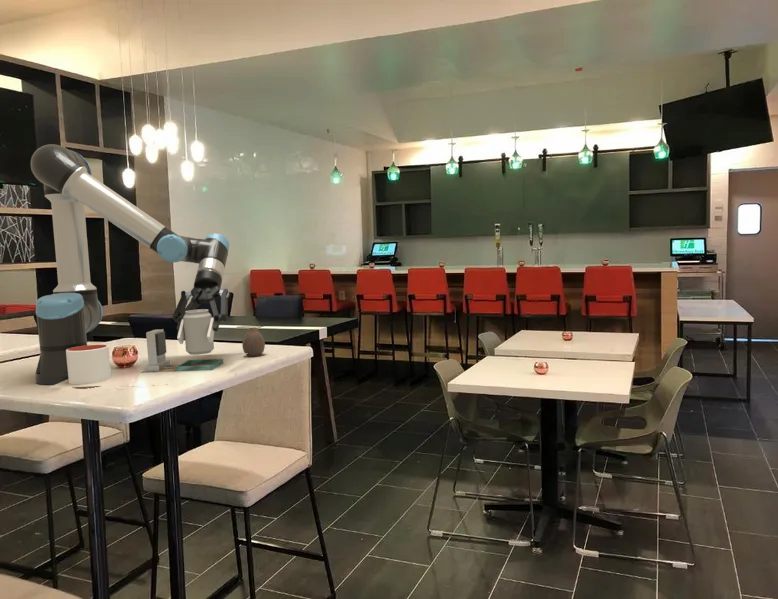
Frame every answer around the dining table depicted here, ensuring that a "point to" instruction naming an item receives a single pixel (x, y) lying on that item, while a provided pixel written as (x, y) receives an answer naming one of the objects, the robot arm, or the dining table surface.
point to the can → (197, 331)
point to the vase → (253, 343)
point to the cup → (88, 365)
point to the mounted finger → (156, 351)
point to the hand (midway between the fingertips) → (194, 340)
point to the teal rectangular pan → (193, 365)
